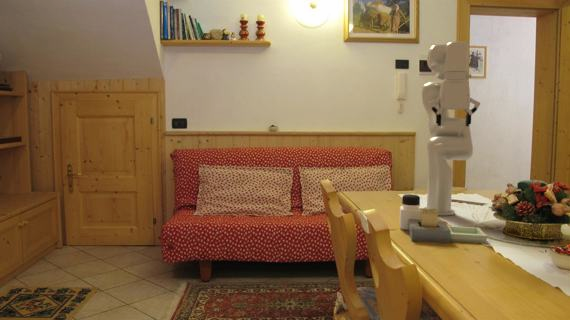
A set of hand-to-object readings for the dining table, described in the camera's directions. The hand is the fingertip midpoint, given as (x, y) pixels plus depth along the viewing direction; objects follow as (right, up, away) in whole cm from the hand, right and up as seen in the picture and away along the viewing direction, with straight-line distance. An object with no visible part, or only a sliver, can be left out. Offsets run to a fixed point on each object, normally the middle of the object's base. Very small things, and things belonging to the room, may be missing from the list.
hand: (453, 126), depth 170 cm
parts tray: (0, -38, -11) cm, 40 cm away
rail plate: (-12, -38, -10) cm, 41 cm away
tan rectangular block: (-12, -38, -10) cm, 41 cm away
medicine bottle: (-15, -37, +1) cm, 40 cm away
